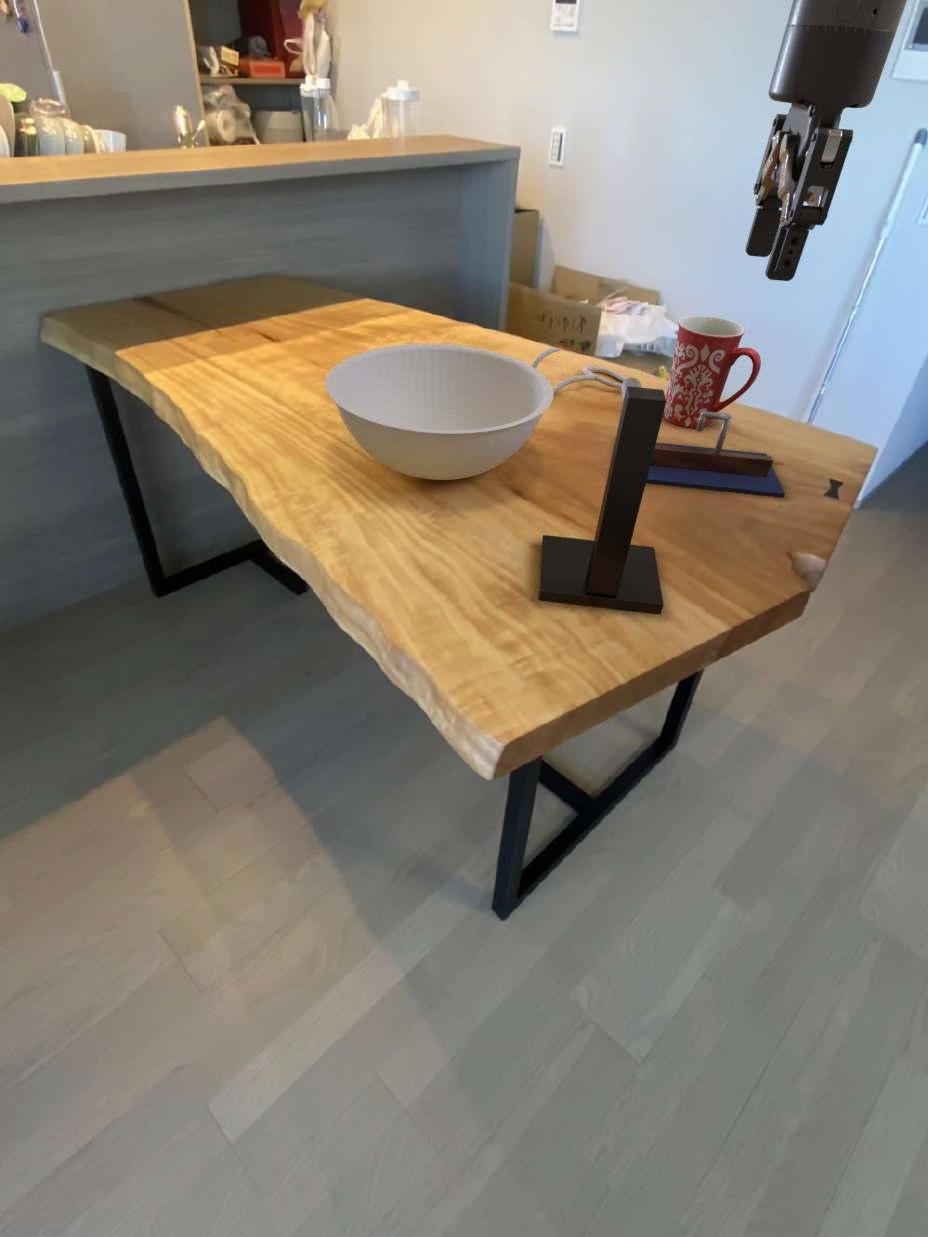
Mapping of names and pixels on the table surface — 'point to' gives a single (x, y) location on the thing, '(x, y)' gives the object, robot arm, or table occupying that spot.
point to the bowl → (438, 407)
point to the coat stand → (613, 523)
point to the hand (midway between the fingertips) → (766, 266)
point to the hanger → (712, 455)
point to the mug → (704, 368)
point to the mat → (716, 478)
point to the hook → (586, 371)
